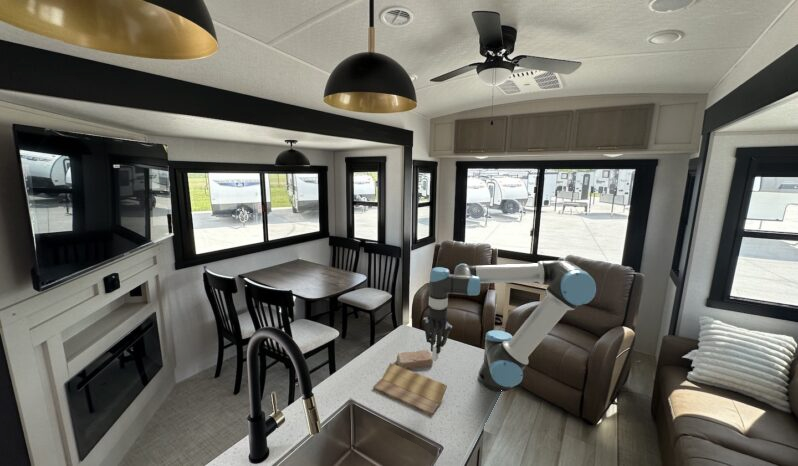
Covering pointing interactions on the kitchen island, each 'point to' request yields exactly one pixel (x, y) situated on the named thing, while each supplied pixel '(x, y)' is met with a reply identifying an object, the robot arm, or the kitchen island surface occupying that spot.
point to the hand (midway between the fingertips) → (435, 359)
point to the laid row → (406, 397)
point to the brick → (414, 359)
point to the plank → (415, 383)
